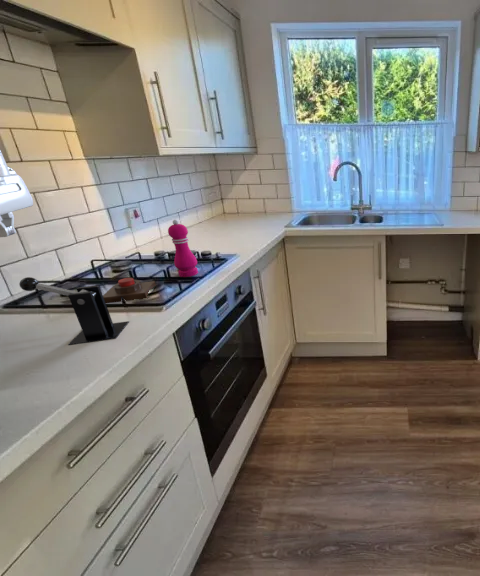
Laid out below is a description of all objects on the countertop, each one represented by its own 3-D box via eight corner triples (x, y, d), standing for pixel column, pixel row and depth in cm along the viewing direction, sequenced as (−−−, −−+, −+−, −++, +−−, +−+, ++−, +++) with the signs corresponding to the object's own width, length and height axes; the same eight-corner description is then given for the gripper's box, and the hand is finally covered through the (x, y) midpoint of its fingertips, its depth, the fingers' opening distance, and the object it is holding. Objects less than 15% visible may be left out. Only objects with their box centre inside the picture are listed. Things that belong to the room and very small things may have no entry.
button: (117, 288, 111) (115, 283, 110) (122, 283, 115) (120, 278, 114) (132, 286, 112) (130, 281, 111) (136, 281, 116) (135, 276, 115)
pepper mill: (191, 278, 128) (177, 222, 120) (173, 277, 129) (157, 222, 121) (203, 271, 134) (191, 217, 126) (186, 270, 135) (172, 217, 127)
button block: (102, 304, 109) (98, 292, 107) (115, 291, 118) (111, 280, 116) (146, 299, 112) (143, 287, 110) (156, 287, 121) (153, 276, 119)
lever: (15, 291, 81) (16, 278, 80) (23, 285, 84) (25, 273, 83) (89, 306, 86) (91, 295, 86) (95, 301, 89) (97, 290, 88)
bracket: (69, 348, 86) (48, 300, 81) (87, 330, 94) (69, 285, 89) (117, 342, 88) (99, 294, 83) (130, 325, 96) (115, 280, 91)
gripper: (-6, 165, 81) (20, 226, 87) (-87, 174, 63) (-48, 250, 69) (27, 164, 83) (51, 223, 88) (-42, 172, 65) (-7, 246, 70)
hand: (7, 235), depth 78 cm, fingers closed
